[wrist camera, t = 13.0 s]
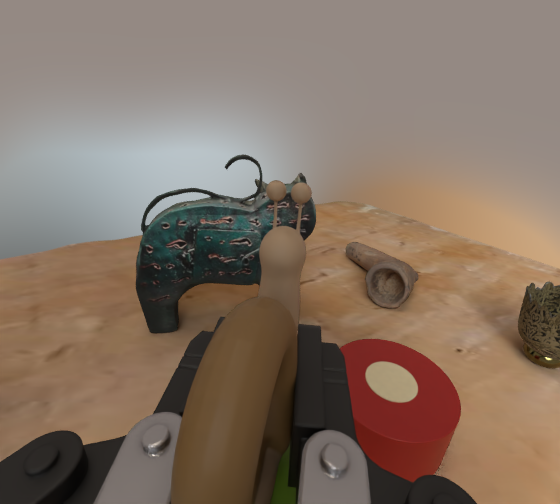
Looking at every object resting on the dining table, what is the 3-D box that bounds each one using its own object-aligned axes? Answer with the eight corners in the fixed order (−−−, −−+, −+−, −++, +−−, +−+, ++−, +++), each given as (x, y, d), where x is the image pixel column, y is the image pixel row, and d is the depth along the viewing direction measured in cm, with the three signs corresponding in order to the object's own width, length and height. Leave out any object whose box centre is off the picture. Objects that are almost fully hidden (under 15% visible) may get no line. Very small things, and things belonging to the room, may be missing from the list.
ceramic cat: (300, 301, 43) (312, 152, 35) (313, 331, 37) (332, 162, 29) (150, 311, 39) (123, 149, 31) (139, 347, 34) (102, 159, 25)
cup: (539, 387, 31) (574, 323, 27) (486, 338, 37) (510, 281, 34) (603, 383, 32) (646, 321, 28) (541, 335, 38) (570, 280, 35)
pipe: (364, 230, 56) (322, 229, 51) (449, 268, 43) (404, 273, 38) (355, 262, 58) (313, 265, 53) (433, 307, 45) (389, 317, 40)
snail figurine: (336, 475, 13) (396, 189, 8) (332, 772, 7) (552, 399, 2) (212, 447, 14) (194, 171, 9) (117, 694, 8) (-107, 287, 3)
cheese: (465, 494, 22) (489, 449, 20) (324, 478, 22) (332, 433, 20) (419, 382, 31) (432, 342, 29) (319, 372, 31) (324, 333, 29)
